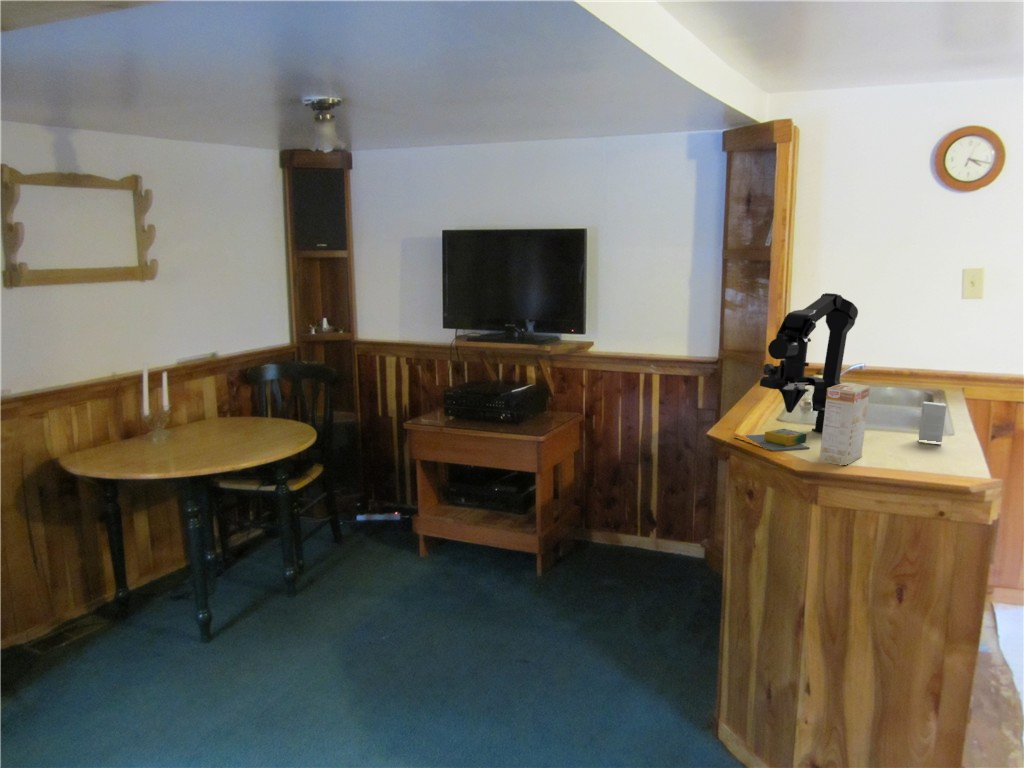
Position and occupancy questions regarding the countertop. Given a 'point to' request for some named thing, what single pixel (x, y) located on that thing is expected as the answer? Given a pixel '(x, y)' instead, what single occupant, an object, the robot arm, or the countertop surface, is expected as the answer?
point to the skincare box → (932, 421)
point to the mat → (760, 439)
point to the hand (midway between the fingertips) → (789, 412)
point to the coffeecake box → (844, 423)
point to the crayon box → (784, 437)
